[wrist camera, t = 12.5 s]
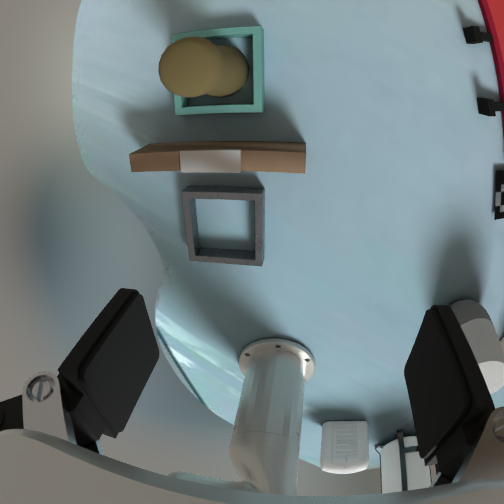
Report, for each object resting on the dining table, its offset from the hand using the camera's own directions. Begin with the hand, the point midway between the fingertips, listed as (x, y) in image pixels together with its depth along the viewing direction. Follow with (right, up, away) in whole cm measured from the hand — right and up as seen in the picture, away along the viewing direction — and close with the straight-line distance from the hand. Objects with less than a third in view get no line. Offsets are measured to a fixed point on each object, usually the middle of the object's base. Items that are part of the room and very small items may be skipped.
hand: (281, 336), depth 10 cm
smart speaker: (+31, -7, +30) cm, 44 cm away
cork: (-4, +22, +19) cm, 29 cm away
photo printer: (+19, -35, +49) cm, 63 cm away
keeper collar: (-4, +6, +28) cm, 29 cm away
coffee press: (+37, -44, +51) cm, 77 cm away
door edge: (-4, +14, +24) cm, 28 cm away
